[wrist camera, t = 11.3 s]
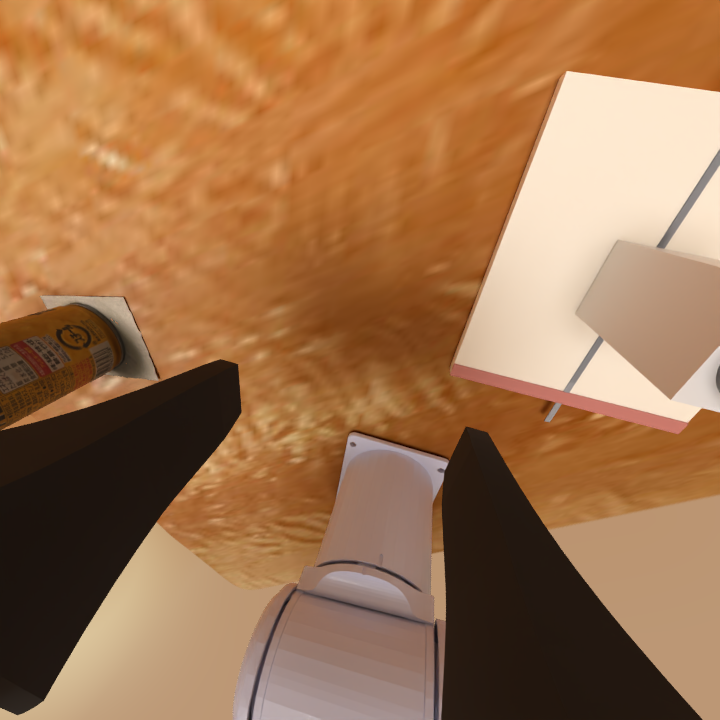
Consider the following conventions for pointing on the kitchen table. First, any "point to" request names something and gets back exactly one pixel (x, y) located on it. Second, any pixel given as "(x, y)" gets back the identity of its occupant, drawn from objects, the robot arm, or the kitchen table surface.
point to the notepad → (593, 240)
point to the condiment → (66, 352)
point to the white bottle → (661, 318)
